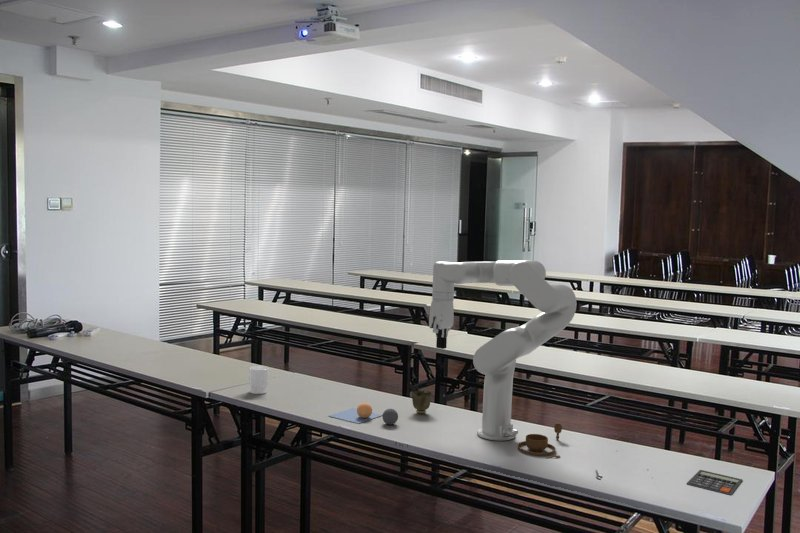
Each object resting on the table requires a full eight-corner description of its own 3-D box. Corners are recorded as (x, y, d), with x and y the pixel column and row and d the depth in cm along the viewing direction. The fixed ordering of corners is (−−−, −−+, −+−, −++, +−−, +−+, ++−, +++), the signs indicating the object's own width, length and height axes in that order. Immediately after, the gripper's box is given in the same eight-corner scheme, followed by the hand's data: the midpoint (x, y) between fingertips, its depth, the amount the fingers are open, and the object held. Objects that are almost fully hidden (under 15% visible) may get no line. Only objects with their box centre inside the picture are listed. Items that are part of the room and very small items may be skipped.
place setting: (505, 444, 226) (506, 427, 226) (557, 440, 233) (558, 422, 233) (534, 462, 210) (535, 443, 209) (589, 457, 217) (590, 438, 216)
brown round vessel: (407, 414, 256) (408, 392, 255) (416, 409, 262) (417, 388, 262) (425, 417, 252) (426, 395, 252) (434, 412, 259) (435, 391, 258)
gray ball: (387, 404, 244) (383, 418, 246) (382, 409, 239) (378, 423, 240) (401, 409, 243) (398, 423, 244) (396, 414, 238) (393, 429, 239)
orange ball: (369, 397, 249) (358, 403, 252) (361, 404, 245) (351, 410, 247) (377, 410, 249) (367, 416, 252) (370, 417, 244) (360, 423, 247)
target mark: (382, 415, 252) (382, 415, 252) (358, 423, 241) (358, 423, 241) (352, 408, 260) (352, 408, 260) (328, 416, 249) (328, 415, 249)
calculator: (686, 482, 194) (700, 469, 206) (686, 486, 194) (699, 472, 206) (731, 493, 187) (742, 478, 199) (730, 497, 187) (742, 482, 199)
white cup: (246, 390, 282) (247, 366, 281) (265, 389, 285) (266, 365, 285) (251, 395, 275) (251, 370, 274) (270, 393, 278) (271, 369, 277)
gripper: (444, 294, 252) (442, 344, 253) (422, 297, 240) (421, 349, 241) (462, 295, 248) (460, 346, 249) (441, 298, 235) (439, 352, 236)
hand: (441, 347), depth 245 cm, fingers closed
